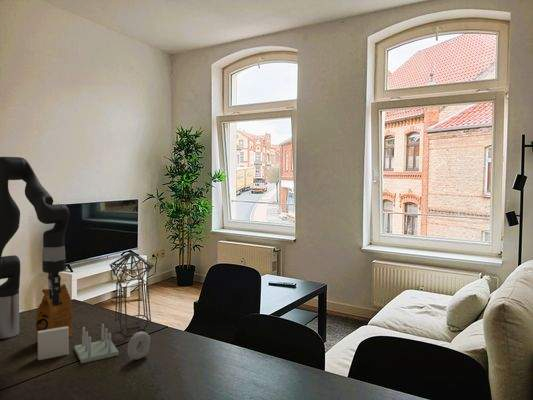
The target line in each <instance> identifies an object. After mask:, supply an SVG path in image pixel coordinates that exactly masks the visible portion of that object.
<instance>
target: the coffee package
mask: <svg viewBox="0 0 533 400" xmlns="http://www.w3.org/2000/svg"><path fill="white" fill-rule="evenodd" d="M49 290H50V289H49V288H45V289H44V288H43V289H42V290H41V292H42V293H43V296H42V299H41V302H40V304H39V306H38V308H37V310H36V315H35V341H36V343H37V344H38V331H41V330H47V329H54V328H60V327H66V326H68V327H69V338H70V337H72V333H73V332H72V331H73V329H72V327H73V326H72V325H73V309H72V308H73V307H72V298H71V297H70V296H71V295H70V293H69V291H68V288H67V285H66V283H62V284H61V287H60V291H61V293H60V294H59V304H58V305H52V299H50V298H49ZM56 291H58V289H56Z"/></svg>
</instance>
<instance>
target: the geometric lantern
mask: <svg viewBox="0 0 533 400" xmlns="http://www.w3.org/2000/svg"><path fill="white" fill-rule="evenodd" d="M129 259H130V262H129ZM136 259H137V260H136ZM128 262H129V263H128ZM140 262H142V263H143V265H144V267H143V268H139V263H140ZM133 264H135V265H133ZM127 265H130V268H127V267H126V266H127ZM109 266H110V269H111V271H112V272H113V275H114V276H115V278H116V279H117V281H116V283H115V285H116V286H115V287H116V289H115V311H114V312H115V313H114V315H115V316H114V322H115V325H117V327H118V328H119V329H120V332H121V333H122V334H124V335H125V336H126V337H132V336H133V335H134V334H135V333H133V334H131V332H134V331H138V330H142V332H146V327H148V325H150V324H151V323H152V319H151V318H152V317H151V306H150V305H151V304H150V303H151V302H150V293H149V291H150V290H149V275H147V279H146V280H145V279H144V277H145V275H146V273H147V274H149V272H150V271H151V270H152V268H153V267H155V265H154V264H153V263H151V262H149V261H148V260H146V259H145V258H143V257H141V256H140V255H138V254H137V253H136V252H128V253H127V254H124V255H123V256H122V257H120V258H118V259H117V260H115V261H114V262H113V261H112V263H109ZM136 271H137V273H136ZM140 271H142V272H140ZM119 272H121V273H122V274H121V276H120V278H119V277H118V274H119ZM127 272H130V274H129V273H127ZM133 273H134V274H135V275H133ZM124 274H125V275H127V276H129V277H130V278H129V279H126V280H122V279H123V276H124ZM141 276H142V277H141ZM135 277H136V278H135ZM135 280H137V281H138V282H137V283H138V284H137V285H130V286H128V285H129V283H130V282H131V281H135ZM140 281H141V282H140ZM122 282H123V283H124V282H127V283H126V285H124V286H123V285H122ZM140 283H141V284H140ZM118 286H119V287H118ZM134 287H137V288H138V289H137V290H138V293H137V294H138V296H137V297H138V301H137V302H138V303H137V304H138V305H137V306H138V307H137V309H138V311H137V312H138V313H137V314H135V315H131V316H128V315H127V314H128V313H127V295H126V294H127V293H126V292H127V291H126V289H127V288H134ZM118 288H119V289H118ZM140 288H141V289H140ZM140 290H141V291H142V305H143V314H141V313H140V304H141V303H140V301H141V299H140V293H141V291H140ZM118 293H119V294H118ZM123 293H124V297H123ZM123 298H124V316H125V317H122V312H123V311H122V308H123V307H122V306H123V304H122V302H123ZM117 311H118V314H117ZM117 315H118V316H117ZM135 317H136V318H137V321H136V322H132V323H128V319H129V318H131V319H132V318H135ZM140 317H142V318H141V319H140ZM144 318H145V319H146V323H144V324H143V323H141V322H142V321H143V319H144ZM124 319H125V324H124V325H123V324H122V320H124ZM139 319H140V321H139ZM134 324H136V325H134ZM130 325H132V326H130ZM133 325H134V326H133ZM135 328H136V329H135ZM131 329H132V330H131Z"/></svg>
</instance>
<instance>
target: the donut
mask: <svg viewBox="0 0 533 400" xmlns="http://www.w3.org/2000/svg"><path fill="white" fill-rule="evenodd" d="M133 334H134V335H132V336H130V337H131V338H130V339H129V340H128V343H127V348H126V351H127V356H128V357H129V358H131V360H136V361H137V360H140V359H143V358H144V357H145V356H146V355H147V353H148V352H149V349H150V346H151V337H150V334H149V333H147V332H146V331H145V332H144V331H143V330H142V331H138V332H135V333H133ZM139 343H140V346H139V348H138V345H139Z"/></svg>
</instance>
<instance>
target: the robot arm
mask: <svg viewBox="0 0 533 400" xmlns="http://www.w3.org/2000/svg"><path fill="white" fill-rule="evenodd" d="M9 181H23V182H24V183H25V187H24V195H25V197H26V199H27V200H28V202H29V203H30V204H31V205H32V206H33V208H34V211H35V214H36V218H37V220H38V221H39V222H40V223H42V224H44V225H52V224H53V227H52V228H51V229H47V230H45V231H44V232H43V235H42V253H41V254H42V256H41V258H42V261H41V262H42V263H41V264H42V265H41V266H42V272H43V273H45V274H46V273H47V274H48V276H47V286H48V289H50V290H49V298H50V299H52V305H58V304H59V294H60V293H61V291H60V287H61V285H62V284H61V280H62V278H61V276H60V274H59V273H60V272H61V273H62V272H64V271H65V270H66V247H65V245H66V244H65V243H66V242H65V237H66V236H65V234H66V231H67V228H68V224H69V220H70V217H71V216H70V215H71V214H70V213H71V212H70V210H69V207H68V206H67V205H66V204H62V203H59V204H58V203H57V204H54V199H53V197H52V195H51V194H50V193H49V192H48V191H47V190H46V188H45V187H44V186H43V185H42V183H41V182H40V180H39V178H38V177H37V175H36V173H35V171H34V169H33V167H32V166H31V164H30V162H28V160H27V159H26V158H24V157H21V156H0V280H3V279H4V280H5V279H6V281H4V282H3V283H1V284H0V339H1V340H2V339H8V338H13V337H15V336H17V335H19V334H20V287H21V283H20V282H21V280H20V279H21V260H20V258H19V257H18V255H3V252H4V249H5V248H6V246H7V245H8V243H9V242H10V241H11V239H12V238H13V237H14V236H15V234H16V233H17V232H18V230H19V228H20V222H21V210H20V209H19V206H18V204H17V203H16V201H15V200H14V198H13V197H12V195H11V193H10V189H9ZM56 289H58V291H56Z"/></svg>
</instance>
